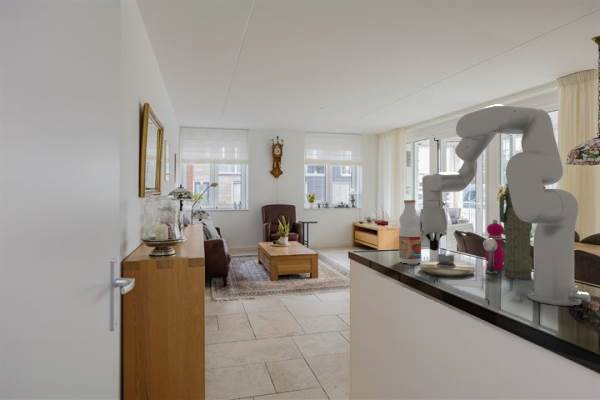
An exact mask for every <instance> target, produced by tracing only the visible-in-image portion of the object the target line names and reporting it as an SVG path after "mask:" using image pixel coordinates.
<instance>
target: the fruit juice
mask: <svg viewBox="0 0 600 400" xmlns="http://www.w3.org/2000/svg"><path fill="white" fill-rule="evenodd" d="M416 203H417V202H416V200H415V199H404V200H403V205H404V209H403V212H402V213H401V215H400V216H399V220H398V222H399V225H400V226H399V230H398V240H399V241H398V260H399V263H400V262H402V263H401V264H403V263H409V264H408V265H419V264H418V263H420V264H421V263H422V236H421V235H420V233H421V232H420V230H419V221H420V214H419V213H418V212H417V210H416Z"/></svg>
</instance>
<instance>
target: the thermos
mask: <svg viewBox="0 0 600 400" xmlns="http://www.w3.org/2000/svg"><path fill="white" fill-rule="evenodd" d="M505 204H506V206H505ZM499 222H500V223H502V224H503V229H504V235H505V239H504V245H505V246H504V247H505V248H504V249H505V252H504V254H505V256H504V262H503V264H504V269H503V270H504V271H503V272H504V274H503V276H504V278H507V279H509V280H510V279H511V280H518V281H528V280H529V281H530V280H532V278H533V277H532V273H533V259H532V256H531V232H532V230H533V223H526V222H523V221H522V220H520V219H519V218H518V217H517V215H516V214H515V212H514V209H513V206H512V201H511V197H510V192H509V188H508V183H507V185H506V187H505V193H502V194H501V195H500V196H499Z"/></svg>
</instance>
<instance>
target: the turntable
mask: <svg viewBox="0 0 600 400" xmlns="http://www.w3.org/2000/svg"><path fill="white" fill-rule="evenodd" d="M437 263H438V261H426V262H421V263H420V264H418V266H419V267H418V268H419V270H421V271H423V272H425V271H426V272H430V273H436V274H446V275H465V274H469V275H471V274H473V273H476V272H475V271H476V268H475V266H473V265H470V264H468V263H467V264H466V263H462V262H455V261H454V264H455V265H456V267H455V268H442V267H438V266H437ZM426 272H425V273H426Z"/></svg>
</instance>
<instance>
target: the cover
mask: <svg viewBox="0 0 600 400" xmlns="http://www.w3.org/2000/svg"><path fill="white" fill-rule="evenodd" d="M437 259H438V261H437V262H438V263H437V266H438V267H442V268H455V267H456V265H455V264H454V262H455V254H452V253H438V258H437Z"/></svg>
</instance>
